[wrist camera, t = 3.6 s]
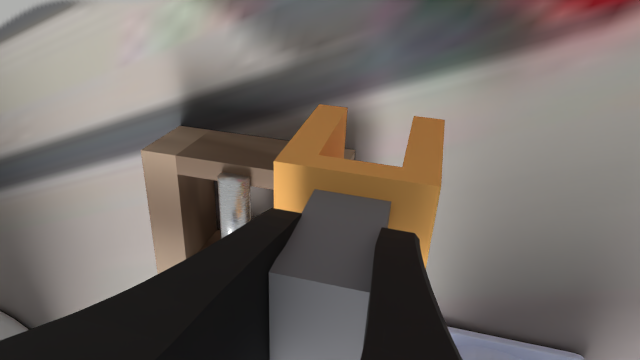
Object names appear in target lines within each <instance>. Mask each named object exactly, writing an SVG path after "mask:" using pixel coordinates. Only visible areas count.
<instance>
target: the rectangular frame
mask: <svg viewBox="0 0 640 360" xmlns="http://www.w3.org/2000/svg"><path fill="white" fill-rule="evenodd" d="M288 143H289V141H286V140H279V139H272V138H265V137H258V136H250V135H243V134H236V133H229V132H221V131H214V130H207V129H200V128H193V127H185V126H179V127H177V128H176V129H174V130H172V131H171V132H169V133H168V134H166V135H164V136H163V137H161V138H160V139H158V140H156V141H155V142H153V143H152V144H150V145H148V146H147V147H145V148H144V149H142V150H141V156H142V163H143V170H144V177H145V185H146V192H147V199H148V206H149V214H150V221H151V228H152V235H153V243H154V250H155V257H156V264H157V272H158V274H159V273H161V272H163V271H165V270H167V269H169V268H171V267H172V266H174V265H176V264H178V263H180V262H182V261H184V260H185V259H187V258H189V257H191V256H193V255H195V254H196V253H198V252H200V251H201V250H203V249H205V248H206V247H208V246H210V245H211V244H213V243H215V242H216V241H218V240H220V239H222V238H223V237H225V236H227V235H228V234H230V233H231V232H233V231H235V230H236V229H238V228H240V227H241V226H243V225H244V224H246V223H248V222H249V221H251V199H250V186H253V187H259V188H265V189H272V190H274V160H275V159H276V157H277V156H278V155H279V154H280V152H281V151H282V150H283V149H284V148H285V146H286V145H287V144H288ZM344 159H349V160H354V159H355V150H351V149H344ZM214 180H216V181H218V196H219V212H220V229H221V230H217V221H216V205H215V190H214Z"/></svg>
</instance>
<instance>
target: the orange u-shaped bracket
mask: <svg viewBox="0 0 640 360" xmlns="http://www.w3.org/2000/svg"><path fill="white" fill-rule="evenodd" d="M346 122H347V108H345V107H337V106H329V105H321V104H319V105H318V106H317V108H316V109H315V110H314V111H313V113H312V114H311V115H310V116H309V118H308V119H307V120H306V121H305V123H304V124H303V125H302V126H301V128H300V129H299V130H298V131H297V133H296V134H295V135H294V136H293V138H292V139H291V140H290V141H289V143H288V144H287V145H286V146H285V148H284V149H283V150H282V151H281V152H280V154H279V155H278V156H277V157H276V159H275V160H274V208H275V209H281V210H287V211H292V212H298V213H302V216H301V218H300V220H299V222H298V224H297V226H296V227H295V229H294V231H293V233H292V235H291V237H290V238H289V240H288V242H287V244H286V246H285V247H284V249H283V250H282V251H281V253H280V254H279V256H278V257H277V258H276V260H275V262H274V264H273V265H272V267H271V269H270V271H269V334H270V360H360V359H361V355H362V351H363V345H364V337H365V329H366V321H367V313H368V305H369V296H370V288H371V278H372V268H373V259H374V251H375V244H376V241H377V238H378V235H379V233H380V230H381V228H382V227H384V228H389V229H395V230H401V231H406V232H412V233H415V234H416V235H417V237H418V238H419V239H420V248H421V254H422V258H423V262H424V266H425V269H426V264H427V259H428V253H429V248H430V243H431V237H432V232H433V227H434V221H435V216H436V211H437V205H438V200H439V195H440V190H441V178H442V160H443V141H444V123H445V120H441V119H433V118H425V117H417V116H414V118H413V122H412V127H411V131H410V136H409V140H408V145H407V149H406V153H405V158H404V162H403V167H396V166H390V165H383V164H376V163H369V162H362V161H356V160H349V159H344V149H345V136H346Z"/></svg>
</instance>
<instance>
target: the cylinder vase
mask: <svg viewBox="0 0 640 360" xmlns="http://www.w3.org/2000/svg"><path fill="white" fill-rule="evenodd" d="M27 330H28V329H27V328H26V327H25V326H23V325H22V324H21V323H19V322H18V321H16V320H15V319H13V318H12V317H10V316H8V315H7V314H5V313H3V312H1V311H0V340H3V339H5V338H8V337H11V336H14V335H16V334H19V333H22V332H25V331H27Z"/></svg>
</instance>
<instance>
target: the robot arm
mask: <svg viewBox="0 0 640 360" xmlns="http://www.w3.org/2000/svg"><path fill="white" fill-rule="evenodd" d="M301 216H302V213H298V212H292V211H287V210H281V209H275V208H271V209H269V210H268V211H266V212H264V213H262V214H261V215H259V216H257V217H256V218H254V219H252V220H251V221H249V222H248V223H246V224H244V225H243V226H241V227H240V228H238V229H236V230H235V231H233V232H231V233H230V234H228V235H227V236H225V237H223V238H222V239H220V240H218V241H216V242H215V243H213V244H211V245H210V246H208V247H206V248H205V249H203V250H201V251H200V252H198V253H196V254H195V255H193V256H191V257H189V258H187V259H185V260H184V261H182V262H180V263H178V264H176V265H174V266H172V267H171V268H169V269H167V270H165V271H163V272H161V273H159V274H157V275H156V276H154V277H152V278H150V279H148V280H146V281H144V282H142V283H140V284H138V285H136V286H134V287H132V288H130V289H128V290H126V291H124V292H121V293H119V294H117V295H115V296H113V297H111V298H108V299H106V300H104V301H101V302H99V303H97V304H94V305H92V306H90V307H87V308H85V309H83V310H80V311H78V312H76V313H73V314H71V315H68V316H66V317H63V318H60V319H57V320H55V321H52V322H49V323H46V324H44V325H41V326H38V327H36V328H33V329H30V330H27V331H25V332H22V333H19V334H16V335H14V336H11V337H8V338H5V339H3V340H0V360H270V334H269V271H270V269H271V267H272V265H273V264H274V262H275V260H276V258H277V257H278V256H279V254H280V253H281V251H282V250H283V249H284V247H285V246H286V244H287V242H288V240H289V238H290V237H291V235H292V233H293V231H294V229H295V227H296V226H297V224H298V222H299V220H300V218H301ZM360 360H584V358H583V357H582V356H581V355H579V354H576V353H572V352H567V351H562V350H557V349H552V348H548V347H543V346H538V345H533V344H529V343H524V342H519V341H514V340H509V339H505V338H500V337H495V336H490V335H486V334H481V333H476V332H471V331H466V330H462V329H457V328H452V327H447V325H446V323H445V321H444V319H443V316H442V314H441V311H440V308H439V306H438V303H437V301H436V298H435V296H434V293H433V291H432V288H431V285H430V282H429V279H428V276H427V272H426V269H425V266H424V262H423V258H422V254H421V248H420V239H419V238H418V237H417V235H416V234H415V233H412V232H406V231H401V230H395V229H389V228H384V227H382V228H381V230H380V233H379V235H378V238H377V241H376V244H375V251H374V259H373V268H372V278H371V288H370V296H369V305H368V313H367V321H366V329H365V337H364V345H363V351H362V355H361V359H360Z"/></svg>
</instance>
